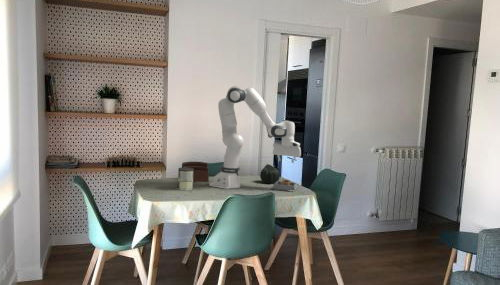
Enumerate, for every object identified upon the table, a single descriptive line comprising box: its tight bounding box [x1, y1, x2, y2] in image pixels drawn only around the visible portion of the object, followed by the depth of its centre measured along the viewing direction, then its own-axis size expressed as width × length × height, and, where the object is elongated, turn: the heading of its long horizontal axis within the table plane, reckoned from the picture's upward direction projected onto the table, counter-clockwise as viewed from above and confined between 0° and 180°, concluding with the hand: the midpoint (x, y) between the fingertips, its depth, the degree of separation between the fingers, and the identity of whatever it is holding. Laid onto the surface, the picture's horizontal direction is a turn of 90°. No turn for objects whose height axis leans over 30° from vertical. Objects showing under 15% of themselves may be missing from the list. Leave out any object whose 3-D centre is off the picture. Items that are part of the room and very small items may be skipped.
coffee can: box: [177, 166, 194, 191], centre depth 279 cm, size 10×10×14 cm
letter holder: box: [181, 161, 210, 183], centre depth 310 cm, size 10×20×14 cm, turn 103°
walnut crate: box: [280, 179, 291, 186], centre depth 297 cm, size 6×9×5 cm, turn 164°
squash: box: [259, 163, 280, 184], centre depth 317 cm, size 14×15×15 cm
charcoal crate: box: [272, 180, 298, 191], centre depth 297 cm, size 15×13×4 cm
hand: (286, 161), depth 296 cm, fingers open, 8 cm apart
